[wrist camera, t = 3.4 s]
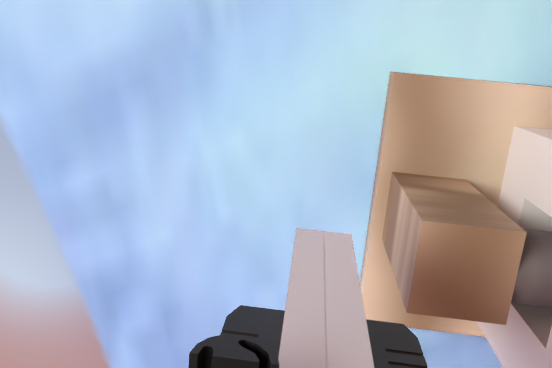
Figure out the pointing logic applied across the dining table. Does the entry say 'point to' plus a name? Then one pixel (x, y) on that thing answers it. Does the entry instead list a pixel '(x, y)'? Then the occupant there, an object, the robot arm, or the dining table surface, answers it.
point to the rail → (451, 207)
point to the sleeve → (530, 215)
